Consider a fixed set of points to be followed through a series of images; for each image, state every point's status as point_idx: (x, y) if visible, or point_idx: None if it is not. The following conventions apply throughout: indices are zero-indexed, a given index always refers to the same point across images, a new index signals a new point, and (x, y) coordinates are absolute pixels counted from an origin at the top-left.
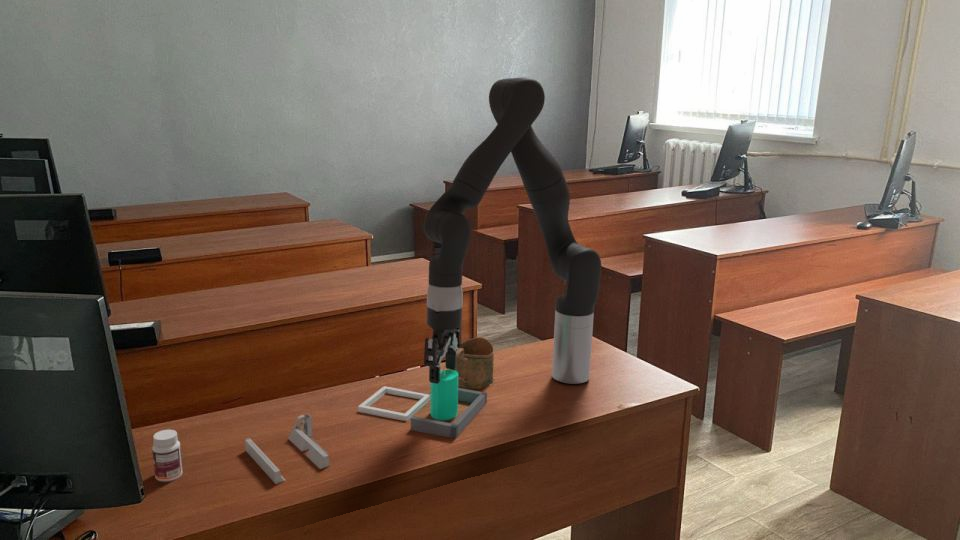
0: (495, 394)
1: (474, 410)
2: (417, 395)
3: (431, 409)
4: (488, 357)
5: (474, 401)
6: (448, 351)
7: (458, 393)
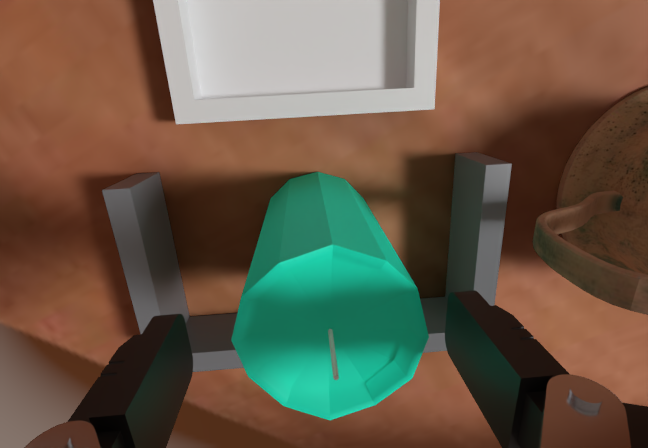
0: (575, 294)
1: None
2: (413, 44)
3: (277, 201)
4: None
5: None
6: (533, 412)
7: (471, 233)
